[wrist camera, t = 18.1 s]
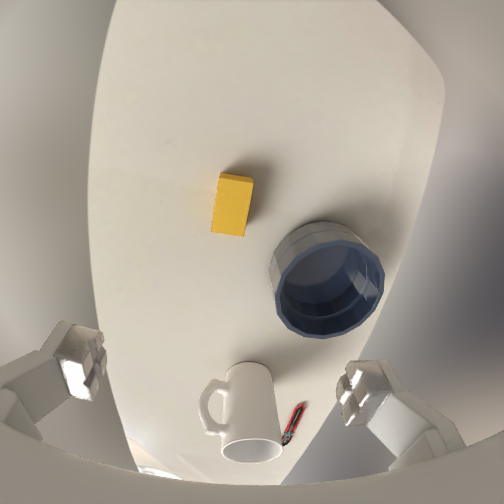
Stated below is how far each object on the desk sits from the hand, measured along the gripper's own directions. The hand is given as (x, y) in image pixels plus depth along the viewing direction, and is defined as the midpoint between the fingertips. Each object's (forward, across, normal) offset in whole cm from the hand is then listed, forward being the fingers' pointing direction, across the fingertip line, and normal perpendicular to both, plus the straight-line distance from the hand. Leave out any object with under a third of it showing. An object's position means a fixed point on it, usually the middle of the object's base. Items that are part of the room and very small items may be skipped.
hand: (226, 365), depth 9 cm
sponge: (+21, 0, 0) cm, 21 cm away
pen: (+21, -15, +36) cm, 44 cm away
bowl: (+21, -10, +6) cm, 24 cm away
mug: (+21, -4, +23) cm, 32 cm away
